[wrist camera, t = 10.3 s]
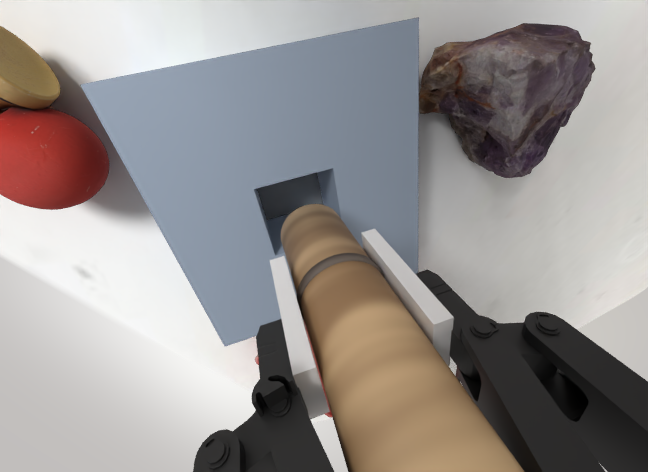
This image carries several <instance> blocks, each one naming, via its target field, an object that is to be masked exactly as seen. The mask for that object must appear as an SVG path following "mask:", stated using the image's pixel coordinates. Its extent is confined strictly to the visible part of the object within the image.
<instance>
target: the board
mask: <svg viewBox="0 0 648 472" xmlns="http://www.w3.org/2000/svg"><path fill="white" fill-rule="evenodd" d="M81 87H82V89H83V91H84V93H85V94H86V96H87V98H88V100H89V102H90V103H91V105H92V107H93V109H94V111H95V112H96V114H97V116H98V118H99V120H100V121H101V123H102V125H103V127H104V129H105V131H106V132H107V134H108V136H109V138H110V140H111V141H112V143H113V145H114V147H115V149H116V150H117V152H118V154H119V156H120V158H121V159H122V161H123V163H124V165H125V167H126V169H127V170H128V172H129V174H130V176H131V178H132V179H133V181H134V183H135V185H136V187H137V188H138V190H139V192H140V194H141V196H142V197H143V199H144V201H145V203H146V205H147V207H148V208H149V210H150V212H151V214H152V216H153V217H154V219H155V221H156V223H157V225H158V226H159V228H160V230H161V232H162V234H163V235H164V237H165V239H166V241H167V243H168V245H169V246H170V248H171V250H172V252H173V254H174V255H175V257H176V259H177V261H178V263H179V264H180V266H181V268H182V270H183V272H184V273H185V275H186V277H187V279H188V281H189V283H190V284H191V286H192V288H193V290H194V292H195V293H196V295H197V297H198V299H199V301H200V302H201V304H202V306H203V308H204V310H205V312H206V313H207V315H208V317H209V319H210V321H211V322H212V324H213V326H214V328H215V330H216V331H217V333H218V335H219V337H220V339H221V340H222V342H223V344H224V346H228V345H231V344H234V343H237V342H240V341H243V340H246V339H249V338H252V337H254V336H257V333H258V331H259V328H260V326H261V325H264V324H267V323H270V322H273V321H276V320H279V319H281V314H280V309H279V304H278V299H277V294H276V290H275V285H274V280H273V275H272V270H271V265H270V260H272V259H275V258H279V257H282V256H285V260H286V263H287V266H288V262H287V259H286V255H285V252H284V249H283V245H282V242H281V229H282V226H283V223H284V221H285V220H286V218H287V217H288V216H289V215H290V214H287V215H284V216H280V217H277V218H273V219H270V220H267V219H266V216H265V213H264V210H263V207H262V204H261V200H260V197H259V194H258V191H257V188H260V187H264V186H268V185H271V184H275V183H279V182H283V181H287V180H290V179H294V178H298V177H302V176H305V175H309V174H313V173H317V175H318V180H319V185H320V191H321V196H322V201H323V205H325V206H328V207H330V208H331V209H333V210H334V211H335V212H336V213H337V214H338V215H339V217H340V218H341V219H342V221H343V222H344V224H345V225H346V226H347V228H348V229H349V230H350V232H351V233H352V235H353V236H354V237H355V239H356V240H357V242H358V243H359V244H360V246H361V247H362V248H363V242H362V234H361V233H362V232H365V231H368V230H372V229H376V230H377V232H378V233H379V234H380V235H381V236H382V237H383V238H384V239H385V241H386V242H387V243H388V244H389V245H390V246H391V247H392V248H393V250H394V251H395V252H396V253H397V254H398V255H399V256H400V257H401V259H402V260H403V261H404V262H405V263H406V264H407V265H408V266H409V268H410V269H411V270H412V271H413V272H414V273H415V274H416V273H418V114H419V17H418V18H413V19H408V20H403V21H398V22H393V23H388V24H383V25H378V26H373V27H368V28H363V29H358V30H353V31H348V32H343V33H338V34H333V35H328V36H323V37H318V38H313V39H308V40H303V41H297V42H292V43H287V44H282V45H277V46H272V47H267V48H262V49H257V50H252V51H247V52H242V53H237V54H232V55H227V56H222V57H217V58H212V59H207V60H202V61H197V62H192V63H187V64H182V65H177V66H171V67H166V68H161V69H156V70H151V71H146V72H141V73H136V74H131V75H126V76H121V77H116V78H111V79H106V80H101V81H96V82H91V83H86V84H81ZM288 270H289V273H290V269H289V266H288ZM290 276H291V273H290ZM291 280H292V276H291ZM292 283H293V280H292ZM293 286H294V283H293ZM294 289H295V286H294ZM295 293H296V290H295ZM296 296H297V293H296Z"/></svg>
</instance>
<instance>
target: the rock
mask: <svg viewBox="0 0 648 472" xmlns="http://www.w3.org/2000/svg"><path fill="white" fill-rule="evenodd" d="M590 44H591V43H590V42H587V41H583V40H582V39H581V36H580V34H579V32H578V31H577V30H574V29H572V28H569V27H567V26H560V25H545V24H527V23H523V24H521V25H518V26H516V27H514V28H511V29H506V30H504V31H501V32H497V33H495V34H493V35H491V36H488V37H486V38H483V39H479V40H476V41H471V42H448V43H446V44H444V45H443V46H440V47H437V48H435V50H434V53H433V56H432V58H431V60H430V62H429V63H428V65H427V66H426V68H425V70H424V73H423V76H422V80H421V89H420V92H419V113H420V114H427V113H430V112H435V113H441V114H442V113H446V114H449V118H450V122H451V126H452V128H453V129H454V130H455V133H456V134H458V135H459V136H460V137H461V138H462V140H463V141H462V148H463V150H464V152H465V153H466V154H467V155H468V158H469V159H470V160H471V161H472V162H475V163H477V164H478V165H480V166H482V167H484V168H485V169H487V170H488V171H493V172H494V173H495V174H496V175H499V176H501V177H505V178H513V177H523V176H525V175H527V174H530V173H531V171H532V169H533V168H534V167H535V166H536V165H538V164H539V163H540V162H541V161H542V160H543V158H544V157H545V156H546V154H547V151H548V149H549V147H550V145H551V143H552V142H553V140H554V138H555V136H556V135H557V133H558V131H559V129H560V127H564V126H565V125H566V124H567V123H568V120H569V118H570V115H571V113H572V111H573V110H574V109H575V108H576V107H577V106H578V104H579V102H580V100H581V98H582V96H583V94H584V91H585V89H586V87H587V86H588V84H589V83H590V81H591V76H592V73H593V72H594V70H595V65H594V63H593V62H592V55H593V54H592V53H591V52H589V49H590Z"/></svg>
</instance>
